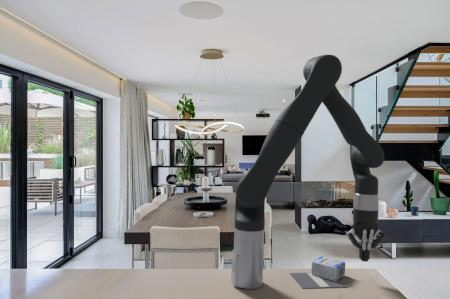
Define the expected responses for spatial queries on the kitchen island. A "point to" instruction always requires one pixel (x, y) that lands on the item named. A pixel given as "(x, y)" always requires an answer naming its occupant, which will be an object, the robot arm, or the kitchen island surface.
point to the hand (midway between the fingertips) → (364, 260)
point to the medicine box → (328, 268)
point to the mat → (316, 281)
